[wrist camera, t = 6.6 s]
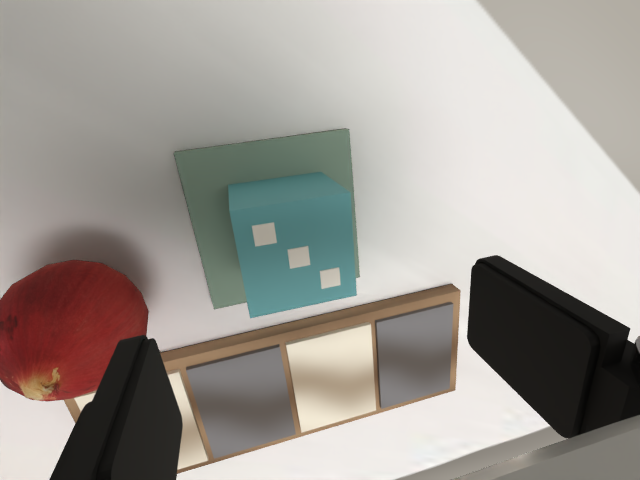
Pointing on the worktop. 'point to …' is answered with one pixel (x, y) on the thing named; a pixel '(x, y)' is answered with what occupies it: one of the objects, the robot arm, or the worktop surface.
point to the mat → (245, 166)
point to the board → (309, 374)
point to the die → (293, 241)
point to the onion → (66, 328)
